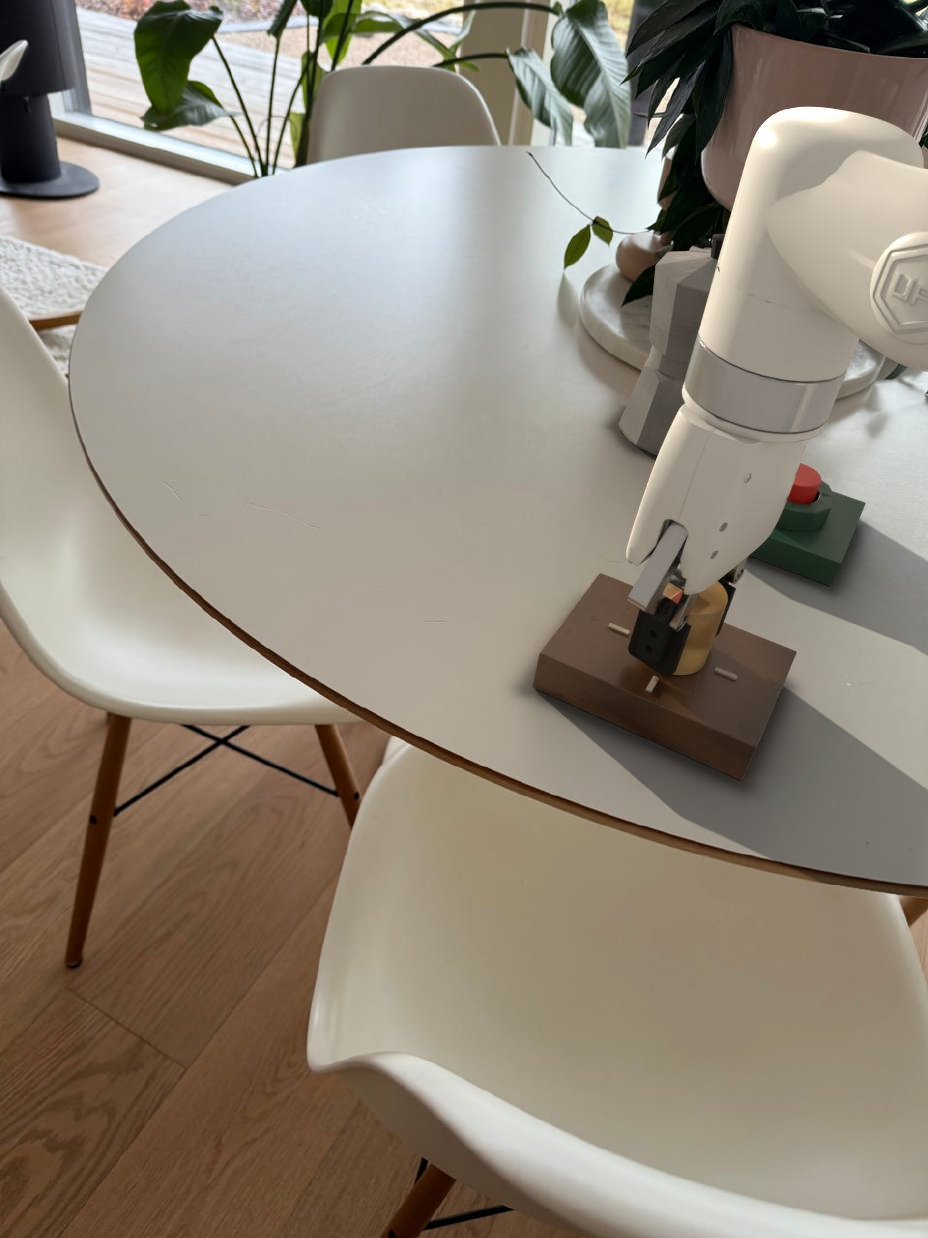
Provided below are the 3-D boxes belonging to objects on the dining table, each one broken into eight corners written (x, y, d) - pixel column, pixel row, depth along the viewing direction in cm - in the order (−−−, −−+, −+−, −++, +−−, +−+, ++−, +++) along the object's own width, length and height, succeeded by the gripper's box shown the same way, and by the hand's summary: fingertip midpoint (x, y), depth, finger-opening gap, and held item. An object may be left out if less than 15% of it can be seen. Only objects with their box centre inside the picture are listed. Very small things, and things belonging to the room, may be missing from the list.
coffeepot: (611, 392, 96) (656, 199, 84) (708, 404, 96) (766, 213, 85) (624, 480, 84) (678, 270, 72) (734, 493, 84) (805, 286, 73)
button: (818, 490, 79) (826, 471, 78) (808, 511, 77) (816, 492, 76) (774, 474, 81) (781, 456, 79) (763, 494, 78) (770, 475, 77)
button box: (856, 524, 83) (874, 483, 80) (830, 586, 76) (849, 544, 73) (729, 479, 86) (742, 438, 84) (693, 534, 79) (707, 492, 77)
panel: (782, 684, 67) (798, 649, 65) (742, 781, 60) (757, 745, 58) (590, 604, 71) (599, 569, 69) (531, 687, 64) (539, 651, 62)
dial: (661, 619, 66) (681, 554, 62) (718, 653, 64) (743, 589, 60) (623, 649, 63) (642, 583, 60) (681, 686, 61) (705, 620, 58)
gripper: (774, 313, 58) (692, 562, 70) (607, 400, 48) (544, 676, 60) (895, 363, 55) (788, 616, 67) (745, 468, 44) (649, 745, 56)
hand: (674, 641), depth 63 cm, fingers closed on dial, 4 cm apart
